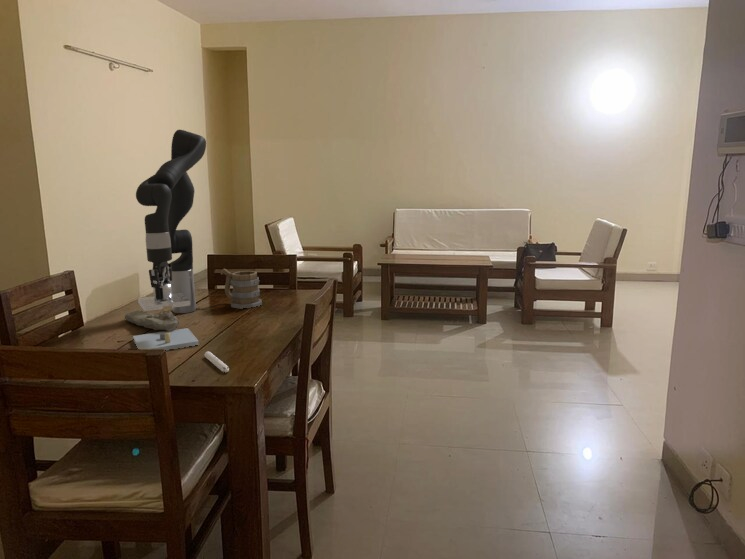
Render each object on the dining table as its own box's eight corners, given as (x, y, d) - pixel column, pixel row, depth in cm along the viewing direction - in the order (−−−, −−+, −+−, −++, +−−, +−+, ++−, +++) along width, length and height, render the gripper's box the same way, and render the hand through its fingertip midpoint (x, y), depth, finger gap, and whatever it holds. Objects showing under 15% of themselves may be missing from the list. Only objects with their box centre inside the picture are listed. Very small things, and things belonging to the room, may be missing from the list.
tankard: (267, 303, 237) (266, 269, 234) (246, 310, 227) (244, 274, 224) (234, 298, 248) (232, 265, 245) (212, 304, 237) (210, 270, 234)
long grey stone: (143, 319, 220) (118, 325, 213) (141, 306, 219) (116, 312, 212) (187, 326, 196) (160, 333, 189) (185, 311, 195) (158, 318, 188)
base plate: (133, 340, 188) (132, 327, 187) (188, 332, 196) (187, 319, 196) (140, 354, 172) (138, 341, 172) (199, 345, 181) (198, 332, 180)
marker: (231, 374, 156) (231, 366, 155) (224, 375, 154) (223, 367, 154) (211, 357, 170) (210, 349, 170) (204, 358, 169) (203, 351, 169)
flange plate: (138, 302, 185) (136, 283, 183) (181, 297, 191) (179, 278, 190) (144, 311, 173) (142, 290, 171) (190, 305, 180) (188, 285, 178)
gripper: (162, 249, 171) (166, 302, 175) (177, 243, 185) (182, 292, 189) (137, 249, 171) (143, 302, 175) (155, 243, 185) (160, 292, 189)
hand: (163, 297), depth 182 cm, fingers closed on flange plate, 5 cm apart
